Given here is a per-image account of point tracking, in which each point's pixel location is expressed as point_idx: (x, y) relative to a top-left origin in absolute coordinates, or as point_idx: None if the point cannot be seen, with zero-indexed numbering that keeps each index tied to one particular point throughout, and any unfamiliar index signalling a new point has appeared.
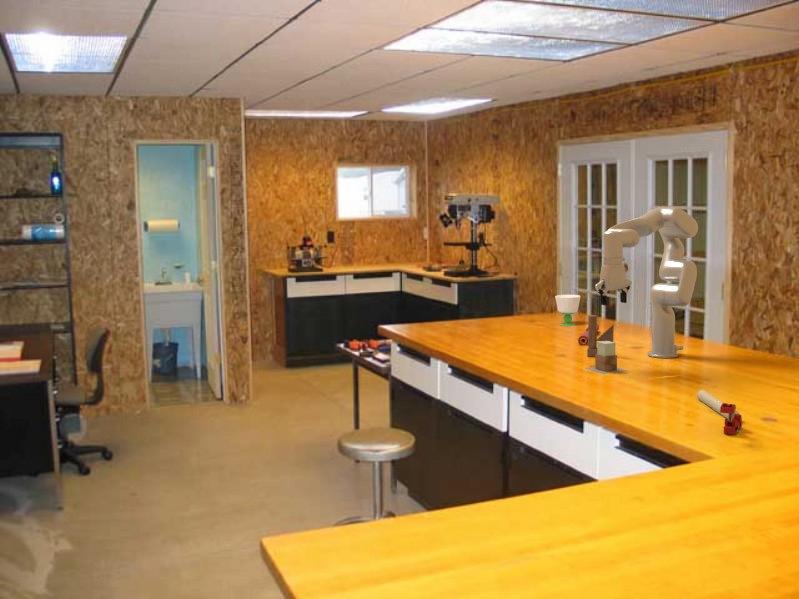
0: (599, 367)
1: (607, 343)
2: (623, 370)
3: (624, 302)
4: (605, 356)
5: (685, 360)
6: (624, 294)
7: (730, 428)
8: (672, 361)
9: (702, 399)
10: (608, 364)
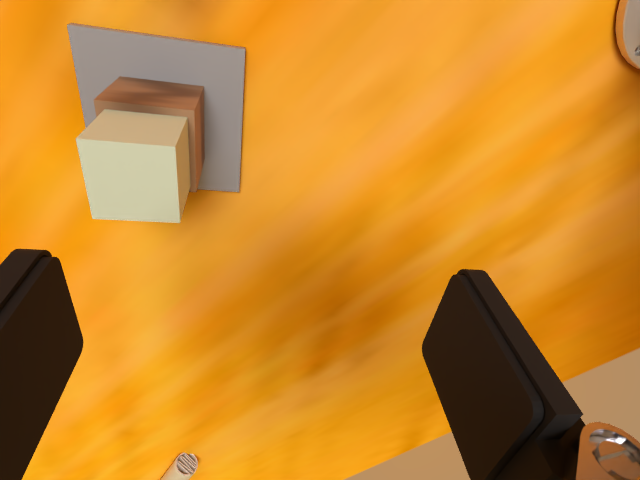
0: None
1: (113, 218)
2: (224, 180)
3: (423, 345)
4: None
5: (613, 140)
6: (470, 468)
7: None
8: (566, 124)
9: (162, 478)
10: None
